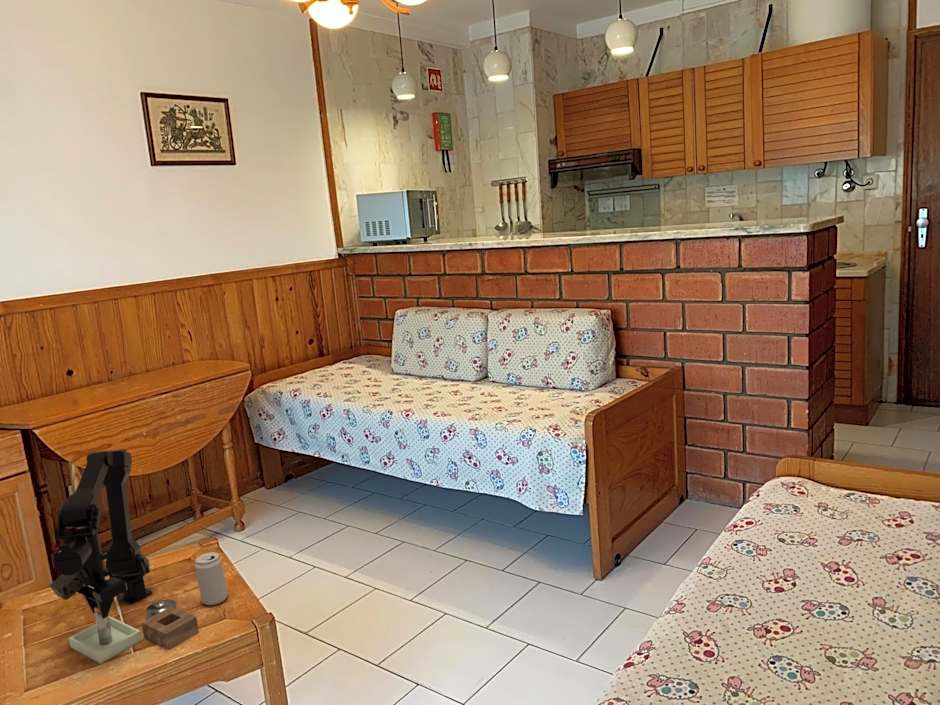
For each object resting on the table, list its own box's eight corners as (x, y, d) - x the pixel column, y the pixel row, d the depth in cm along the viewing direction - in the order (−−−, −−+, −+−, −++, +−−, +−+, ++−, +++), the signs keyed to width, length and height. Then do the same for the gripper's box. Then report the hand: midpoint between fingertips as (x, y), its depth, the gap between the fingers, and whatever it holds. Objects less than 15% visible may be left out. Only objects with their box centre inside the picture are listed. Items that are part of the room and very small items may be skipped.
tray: (70, 647, 175) (68, 638, 174) (112, 625, 183) (110, 616, 182) (100, 664, 167) (98, 654, 167) (142, 640, 175) (140, 630, 175)
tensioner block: (144, 637, 176) (141, 622, 175) (174, 620, 182) (171, 605, 182) (168, 649, 170) (165, 634, 170) (198, 631, 177) (196, 616, 176)
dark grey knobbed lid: (141, 618, 185) (139, 607, 184) (167, 605, 190) (165, 593, 189) (157, 626, 181) (155, 614, 180) (183, 612, 186) (181, 600, 185)
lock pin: (96, 642, 174) (91, 607, 173) (108, 637, 177) (103, 601, 175) (103, 646, 173) (97, 609, 172) (114, 640, 175) (109, 604, 174)
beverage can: (219, 607, 187) (212, 563, 184) (196, 606, 188) (189, 563, 186) (232, 594, 193) (225, 551, 190) (210, 593, 194) (202, 551, 192)
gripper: (31, 560, 169) (45, 622, 172) (72, 579, 158) (87, 644, 162) (80, 539, 178) (92, 598, 181) (122, 556, 167) (134, 618, 170)
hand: (100, 615), depth 173 cm, fingers open, 4 cm apart
